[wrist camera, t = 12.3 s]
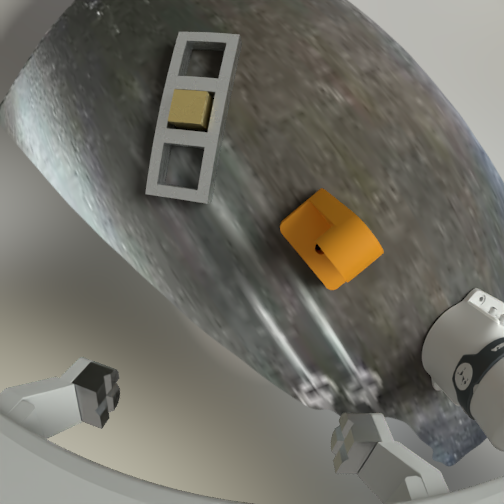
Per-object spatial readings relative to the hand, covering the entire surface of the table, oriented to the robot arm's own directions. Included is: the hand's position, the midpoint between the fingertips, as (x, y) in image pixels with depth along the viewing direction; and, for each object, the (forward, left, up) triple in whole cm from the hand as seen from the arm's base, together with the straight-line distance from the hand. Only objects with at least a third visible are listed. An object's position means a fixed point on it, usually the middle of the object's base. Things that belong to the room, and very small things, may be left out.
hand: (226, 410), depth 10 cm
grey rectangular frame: (+11, -15, -31) cm, 36 cm away
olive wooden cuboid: (+11, -15, -31) cm, 36 cm away
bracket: (-8, -2, -31) cm, 32 cm away
